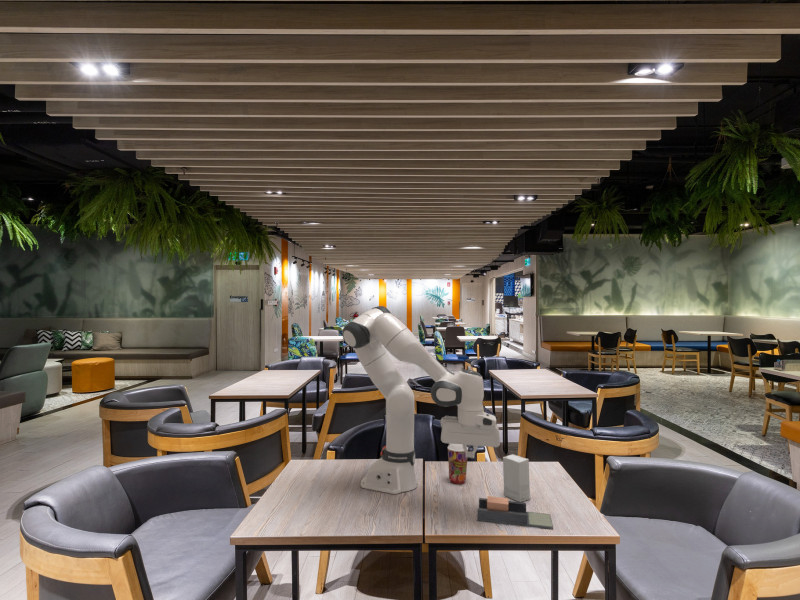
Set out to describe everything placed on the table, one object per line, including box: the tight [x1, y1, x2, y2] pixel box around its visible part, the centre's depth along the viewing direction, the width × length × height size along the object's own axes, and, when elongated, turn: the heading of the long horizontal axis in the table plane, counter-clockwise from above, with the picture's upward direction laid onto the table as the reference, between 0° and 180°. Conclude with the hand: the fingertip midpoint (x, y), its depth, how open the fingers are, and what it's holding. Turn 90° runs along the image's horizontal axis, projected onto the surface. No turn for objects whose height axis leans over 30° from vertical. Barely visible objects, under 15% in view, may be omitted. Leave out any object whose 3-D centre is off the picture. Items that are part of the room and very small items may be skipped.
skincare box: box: [502, 454, 531, 502], centre depth 172 cm, size 8×6×15 cm
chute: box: [476, 497, 554, 530], centre depth 154 cm, size 24×10×4 cm, turn 77°
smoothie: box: [447, 443, 469, 485], centre depth 187 cm, size 8×8×20 cm
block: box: [486, 495, 509, 511], centre depth 155 cm, size 7×5×4 cm
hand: (470, 457), depth 158 cm, fingers closed
